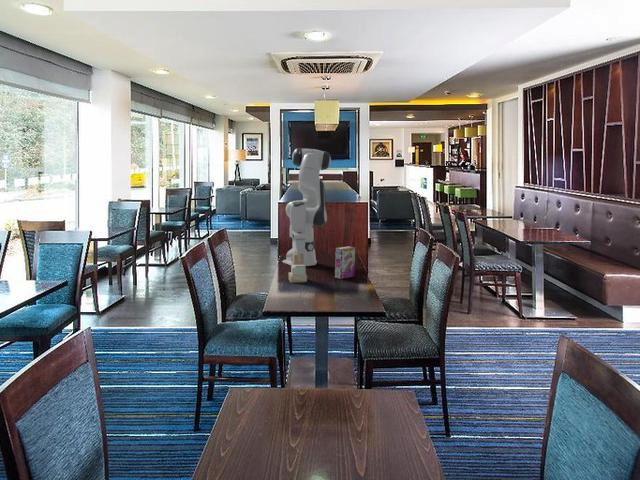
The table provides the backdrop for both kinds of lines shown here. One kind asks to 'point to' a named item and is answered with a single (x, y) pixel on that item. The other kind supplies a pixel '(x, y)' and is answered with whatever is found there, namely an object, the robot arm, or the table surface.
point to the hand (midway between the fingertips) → (298, 259)
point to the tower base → (297, 278)
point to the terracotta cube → (296, 259)
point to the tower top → (298, 269)
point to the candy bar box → (344, 262)
